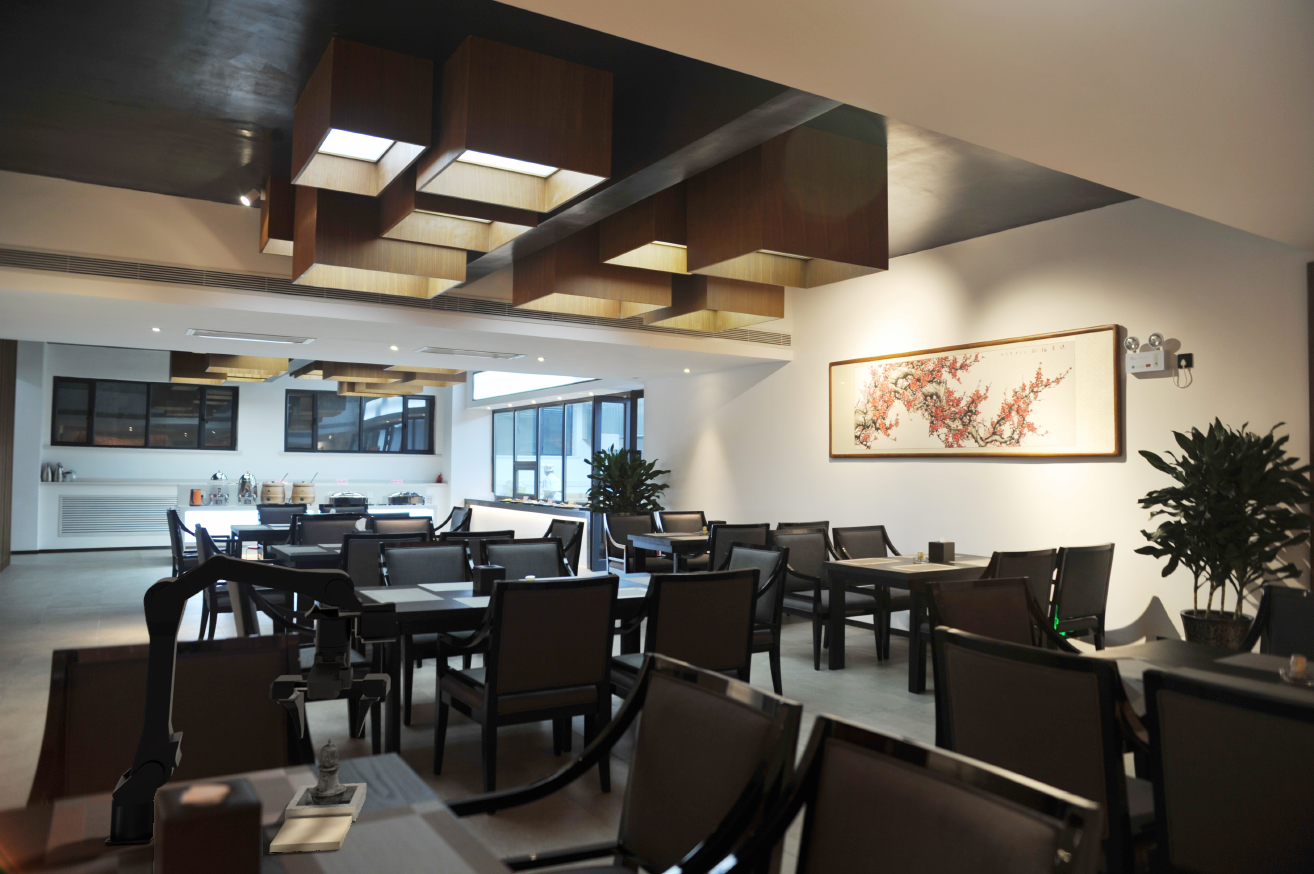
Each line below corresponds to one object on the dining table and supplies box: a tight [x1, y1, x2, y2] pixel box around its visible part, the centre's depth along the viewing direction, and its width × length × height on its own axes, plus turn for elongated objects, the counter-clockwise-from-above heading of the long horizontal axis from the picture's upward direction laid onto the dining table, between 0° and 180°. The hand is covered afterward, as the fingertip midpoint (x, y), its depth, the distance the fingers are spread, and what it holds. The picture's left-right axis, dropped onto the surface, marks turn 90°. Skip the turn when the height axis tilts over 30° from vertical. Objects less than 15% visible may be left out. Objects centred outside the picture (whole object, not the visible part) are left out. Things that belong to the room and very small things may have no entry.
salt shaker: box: [309, 738, 346, 805], centre depth 144 cm, size 6×6×12 cm
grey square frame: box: [284, 782, 368, 822], centre depth 144 cm, size 11×11×2 cm
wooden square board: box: [269, 816, 353, 853], centre depth 133 cm, size 10×10×1 cm
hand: (329, 737), depth 145 cm, fingers open, 9 cm apart
